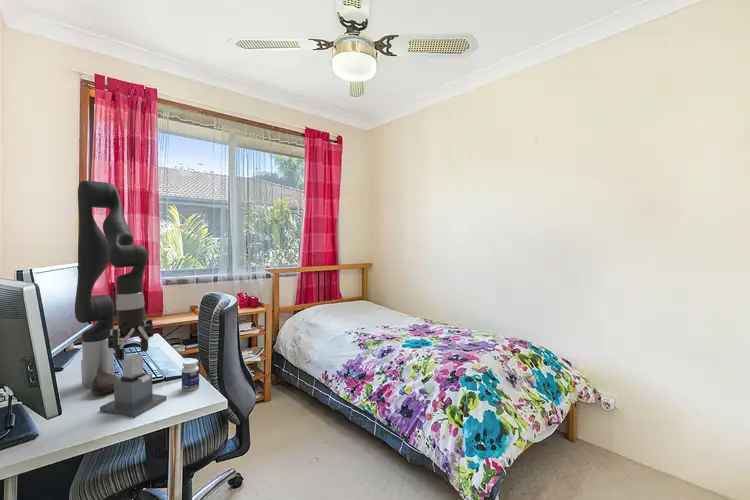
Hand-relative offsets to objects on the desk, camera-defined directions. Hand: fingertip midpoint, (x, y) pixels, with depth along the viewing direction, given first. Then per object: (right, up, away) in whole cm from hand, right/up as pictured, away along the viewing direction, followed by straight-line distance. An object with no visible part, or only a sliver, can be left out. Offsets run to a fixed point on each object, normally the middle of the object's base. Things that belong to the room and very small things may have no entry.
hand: (132, 355), depth 119 cm
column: (0, -15, +1) cm, 15 cm away
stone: (-17, -17, +11) cm, 26 cm away
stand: (0, -17, +1) cm, 17 cm away
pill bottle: (+12, -16, +14) cm, 25 cm away
